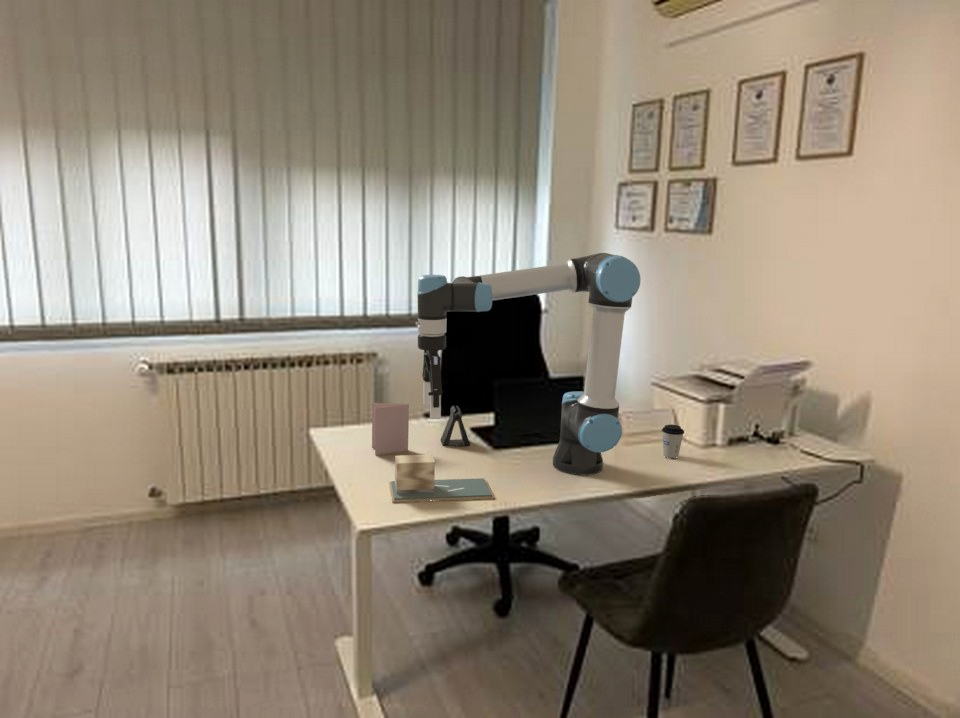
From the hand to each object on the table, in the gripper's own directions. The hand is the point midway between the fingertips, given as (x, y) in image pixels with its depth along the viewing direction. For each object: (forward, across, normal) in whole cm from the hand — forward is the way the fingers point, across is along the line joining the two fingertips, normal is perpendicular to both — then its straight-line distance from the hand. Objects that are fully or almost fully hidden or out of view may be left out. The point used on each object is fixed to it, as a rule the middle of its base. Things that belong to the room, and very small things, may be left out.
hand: (431, 411), depth 198 cm
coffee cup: (+24, -17, +79) cm, 84 cm away
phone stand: (+22, -36, +13) cm, 44 cm away
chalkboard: (+22, +4, +2) cm, 22 cm away
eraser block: (+20, +4, -5) cm, 21 cm away
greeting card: (+22, -30, -9) cm, 38 cm away
